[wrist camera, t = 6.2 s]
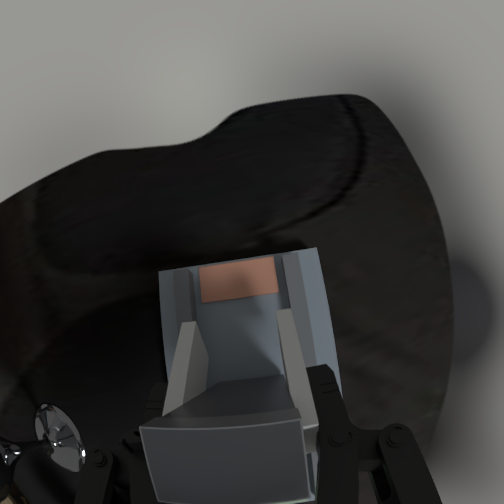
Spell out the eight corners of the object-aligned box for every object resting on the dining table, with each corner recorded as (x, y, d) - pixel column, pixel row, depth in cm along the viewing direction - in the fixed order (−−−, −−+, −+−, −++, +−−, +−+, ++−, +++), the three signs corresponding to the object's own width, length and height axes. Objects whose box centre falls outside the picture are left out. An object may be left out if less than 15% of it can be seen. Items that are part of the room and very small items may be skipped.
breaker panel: (345, 483, 14) (354, 499, 12) (199, 498, 15) (190, 515, 12) (313, 254, 20) (319, 241, 18) (166, 276, 20) (151, 266, 18)
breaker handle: (289, 410, 15) (311, 498, 5) (223, 417, 15) (158, 501, 5) (284, 373, 16) (301, 417, 6) (218, 381, 16) (138, 426, 6)
